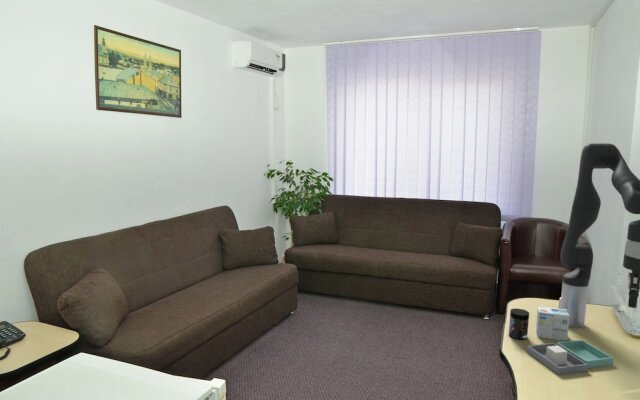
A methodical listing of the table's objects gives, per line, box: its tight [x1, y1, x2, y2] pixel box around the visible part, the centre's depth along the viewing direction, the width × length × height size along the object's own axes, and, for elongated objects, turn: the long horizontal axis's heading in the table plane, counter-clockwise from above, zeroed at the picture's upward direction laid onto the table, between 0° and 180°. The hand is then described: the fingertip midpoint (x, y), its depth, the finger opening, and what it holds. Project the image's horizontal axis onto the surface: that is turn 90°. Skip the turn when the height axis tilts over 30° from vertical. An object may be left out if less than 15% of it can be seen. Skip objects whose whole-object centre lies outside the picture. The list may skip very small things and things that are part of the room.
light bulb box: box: [535, 305, 569, 342], centre depth 180 cm, size 11×7×11 cm, turn 71°
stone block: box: [546, 345, 567, 365], centre depth 160 cm, size 4×4×4 cm
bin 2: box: [555, 339, 615, 369], centre depth 164 cm, size 14×11×3 cm
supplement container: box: [508, 308, 530, 341], centre depth 179 cm, size 7×7×10 cm
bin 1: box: [526, 342, 589, 376], centre depth 161 cm, size 16×11×3 cm
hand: (632, 303), depth 151 cm, fingers open, 8 cm apart
